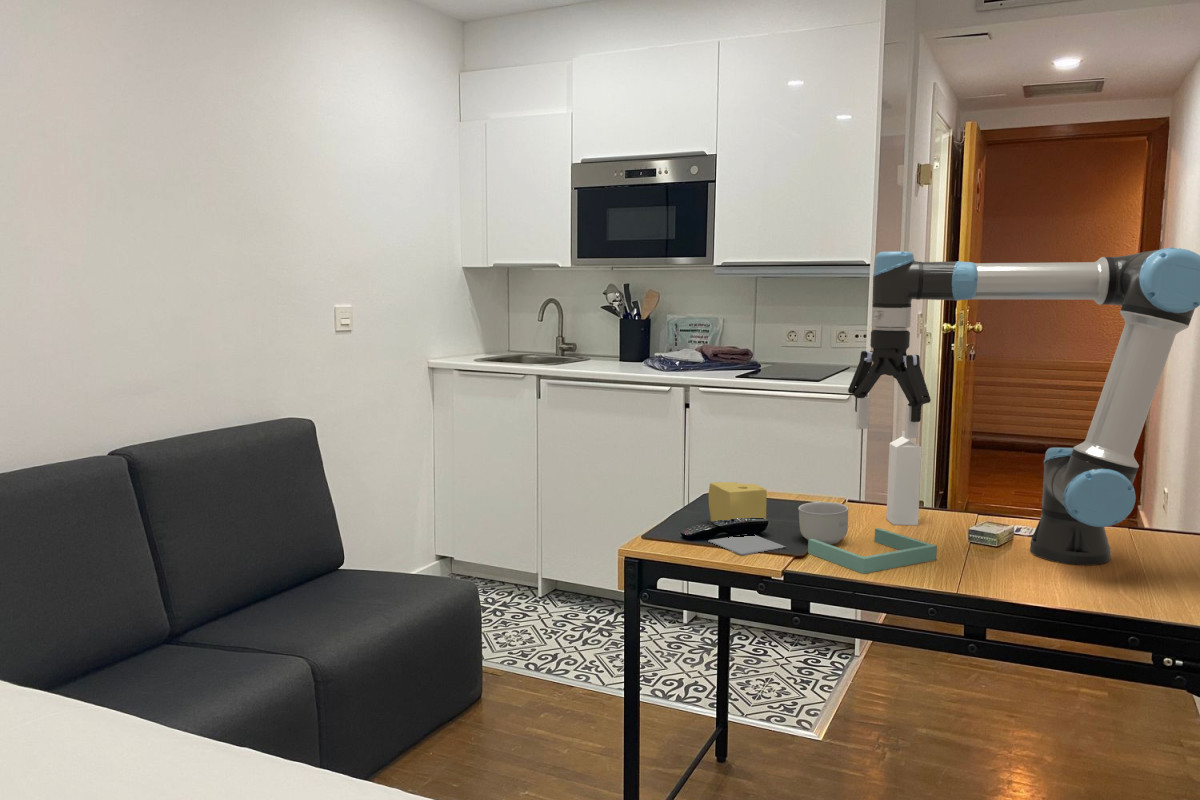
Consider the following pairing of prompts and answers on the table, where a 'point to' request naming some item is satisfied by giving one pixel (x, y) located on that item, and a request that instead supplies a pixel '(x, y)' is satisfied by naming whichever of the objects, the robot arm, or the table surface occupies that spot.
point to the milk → (903, 482)
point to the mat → (746, 544)
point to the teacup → (823, 521)
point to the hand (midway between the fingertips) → (885, 433)
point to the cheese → (736, 501)
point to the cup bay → (906, 554)
